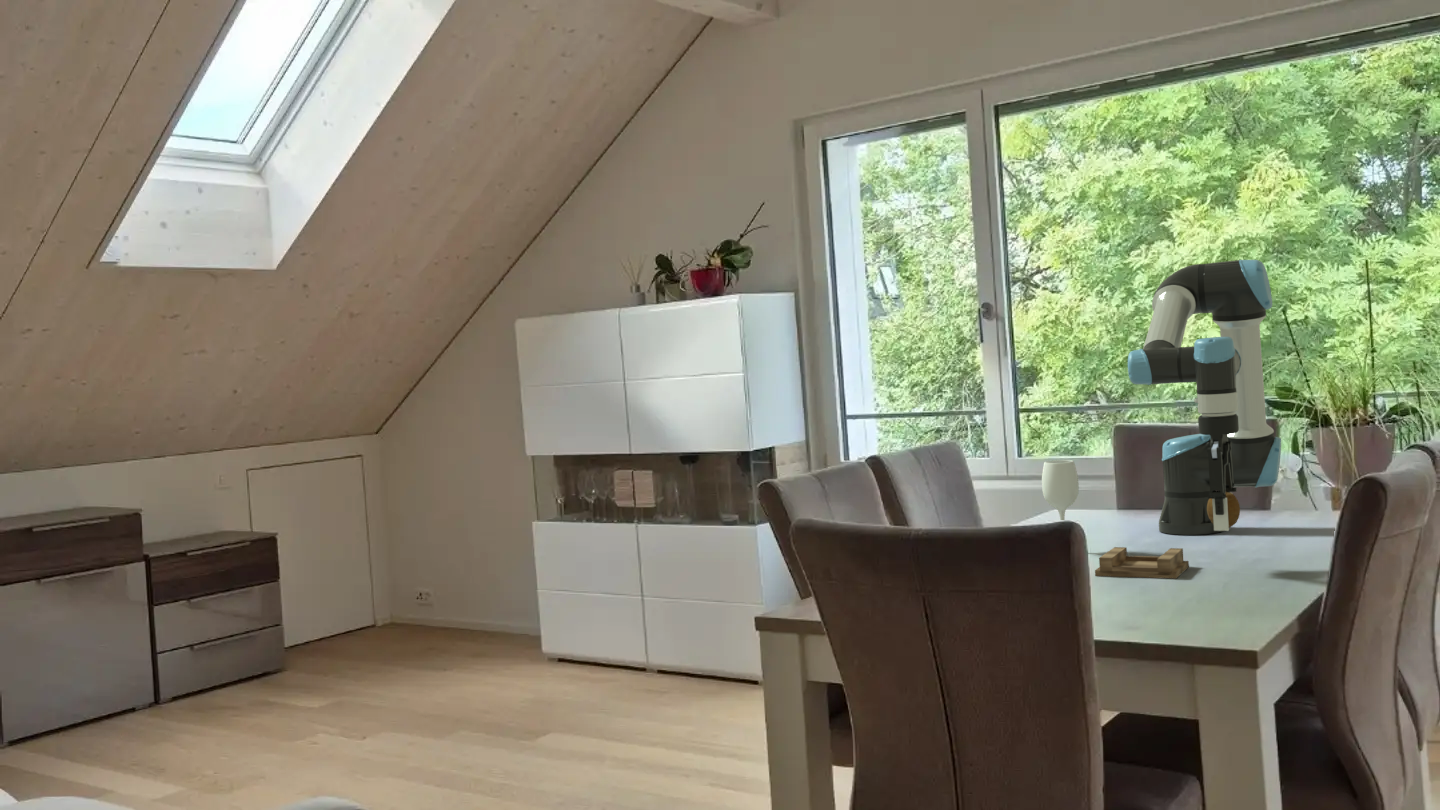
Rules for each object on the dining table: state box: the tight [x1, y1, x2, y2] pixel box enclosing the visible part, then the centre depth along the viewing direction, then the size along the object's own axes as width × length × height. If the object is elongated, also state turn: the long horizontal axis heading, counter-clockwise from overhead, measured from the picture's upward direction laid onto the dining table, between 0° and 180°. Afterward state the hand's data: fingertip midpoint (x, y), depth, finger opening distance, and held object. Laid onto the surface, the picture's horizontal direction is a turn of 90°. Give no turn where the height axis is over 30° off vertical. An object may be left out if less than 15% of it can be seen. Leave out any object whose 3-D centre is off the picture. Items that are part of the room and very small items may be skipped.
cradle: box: [1094, 546, 1190, 579], centre depth 259 cm, size 13×16×4 cm
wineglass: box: [1041, 459, 1080, 521], centre depth 288 cm, size 9×9×21 cm
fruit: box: [1207, 492, 1241, 528], centre depth 253 cm, size 6×6×8 cm
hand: (1224, 527), depth 253 cm, fingers closed on fruit, 6 cm apart
